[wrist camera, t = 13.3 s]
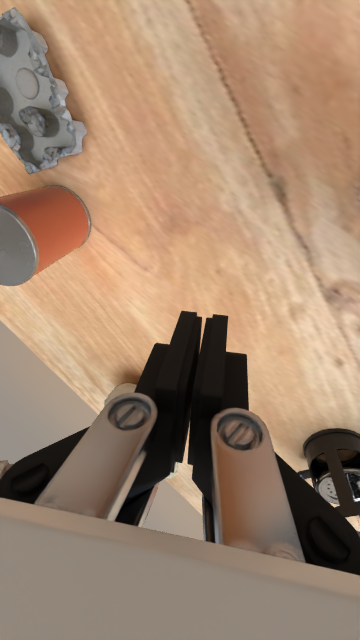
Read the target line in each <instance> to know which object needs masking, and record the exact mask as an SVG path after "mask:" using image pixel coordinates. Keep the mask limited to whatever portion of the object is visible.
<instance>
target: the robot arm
mask: <svg viewBox="0 0 360 640" xmlns="http://www.w3.org/2000/svg"><path fill="white" fill-rule="evenodd" d="M227 325H228V316H225V315H216V314H213V317H212V318H206V323H205V328H204V334H203V339H202V344H201V349H200V339H201V326H202V317H198V316H197V312H188V311H181V314H180V316H179V319H178V322H177V325H176V328H175V331H174V333H173V336H172V339H171V342H170V345H169V344H161V343H156V344H155V345H154V347H153V349H152V352H151V354H150V356H149V358H148V361H147V363H146V365H145V368H144V370H143V372H142V375H141V377H140V379H139V382H138V384H137V386H136V389H135V391H134V393H125V394H122V395H119V396H117V397H115V398H113V399H112V400H110V401H109V402H108V404H107V405H106V406H105V407H104V408H103V410H102V411H101V412H100V414H99V415H98V417H97V418H96V419H95V421H94V422H93V424H92V425H91V426H90V427H88V428H85V429H83V430H81V431H79V432H77V433H75V434H73V435H71V436H68V437H66V438H64V439H62V440H60V441H58V442H56V443H54V444H52V445H49V446H48V447H45V448H43V449H41V450H39V451H37V452H35V453H33V454H31V455H28V456H27V457H24V458H23V459H21V460H19V461H18V462H16V463H15V464H9V463H8V461H7V460H6V461H0V640H360V532H359V531H356V530H355V529H354V527H353V526H352V525H351V524H350V523H349V522H348V521H347V519H346V518H345V517H344V516H342V515H341V514H340V513H339V512H338V511H337V510H336V509H335V508H334V507H333V506H332V505H331V504H330V503H329V502H328V501H326V500H325V499H324V498H323V497H322V496H321V495H320V494H319V493H318V492H317V491H316V490H315V489H314V488H313V487H312V486H310V485H309V484H308V483H307V482H306V481H305V480H304V479H303V478H302V477H301V476H300V475H299V474H298V473H297V472H296V471H294V470H293V469H292V468H291V467H290V466H289V465H288V464H287V463H286V462H285V461H284V460H283V459H282V458H281V457H280V456H278V455H277V454H276V453H275V452H274V449H273V446H272V442H271V438H270V435H269V431H268V429H267V427H266V425H265V423H264V422H263V421H262V420H261V419H260V417H258V416H257V415H255V414H254V413H252V412H250V411H249V403H248V376H247V355H246V354H241V353H233V352H226V340H227ZM199 353H200V354H199ZM189 423H190V433H189V448H188V464H190V465H193V473H192V480H193V481H194V483H195V484H196V485H197V487H198V488H199V489H200V491H201V492H202V493H203V496H202V509H203V535H204V541H202V540H197V539H193V538H188V537H183V536H179V535H174V534H169V533H165V532H160V531H156V530H150V529H146V528H142V527H143V525H144V522H145V520H146V517H147V515H148V512H149V510H150V507H151V505H152V502H153V500H154V497H155V495H156V492H157V489H158V485H159V482H160V481H162V480H163V479H165V478H166V477H168V476H169V475H170V473H174V469H175V464H176V462H179V463H182V461H183V456H184V451H185V445H186V440H187V434H188V429H189Z"/></svg>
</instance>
